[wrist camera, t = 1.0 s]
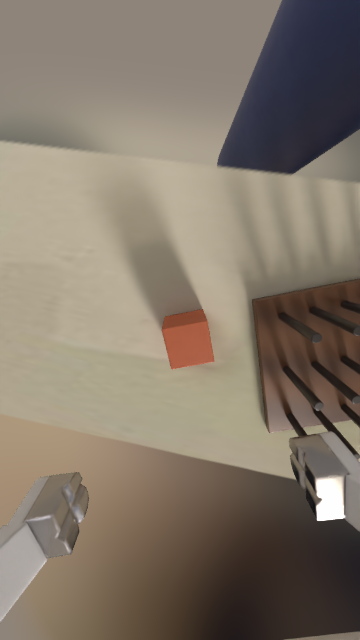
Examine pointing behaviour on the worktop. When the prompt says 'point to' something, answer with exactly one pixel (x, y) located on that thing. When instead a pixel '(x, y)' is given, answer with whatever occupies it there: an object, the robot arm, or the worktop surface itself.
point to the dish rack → (310, 357)
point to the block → (187, 339)
